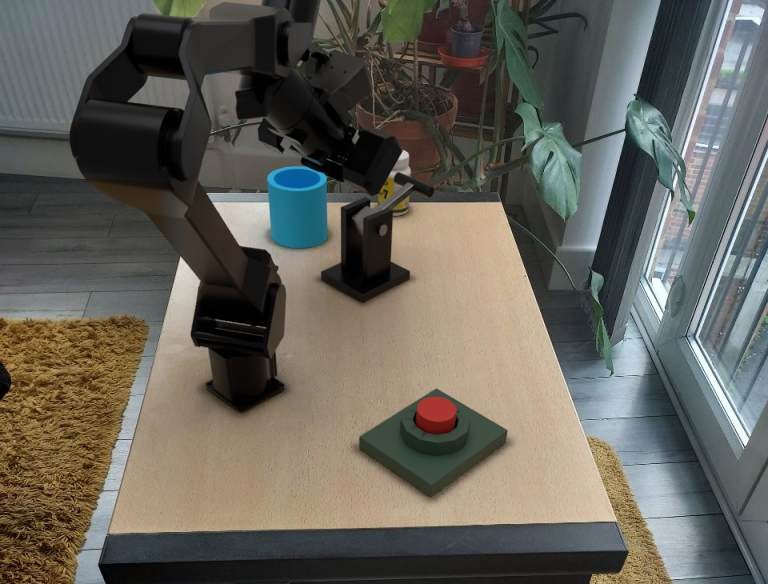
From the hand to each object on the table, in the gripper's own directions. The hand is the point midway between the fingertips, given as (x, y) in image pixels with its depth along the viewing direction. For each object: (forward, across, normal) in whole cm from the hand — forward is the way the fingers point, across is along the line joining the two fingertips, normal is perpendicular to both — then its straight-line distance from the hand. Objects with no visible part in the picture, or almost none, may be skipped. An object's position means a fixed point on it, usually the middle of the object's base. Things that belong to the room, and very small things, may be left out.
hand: (363, 180), depth 96 cm
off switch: (-3, -29, +22) cm, 37 cm away
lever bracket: (+10, 0, +9) cm, 14 cm away
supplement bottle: (+23, +12, -4) cm, 26 cm away
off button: (-6, -29, +20) cm, 36 cm away
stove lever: (+8, 0, 0) cm, 8 cm away
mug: (+12, +17, +7) cm, 22 cm away
